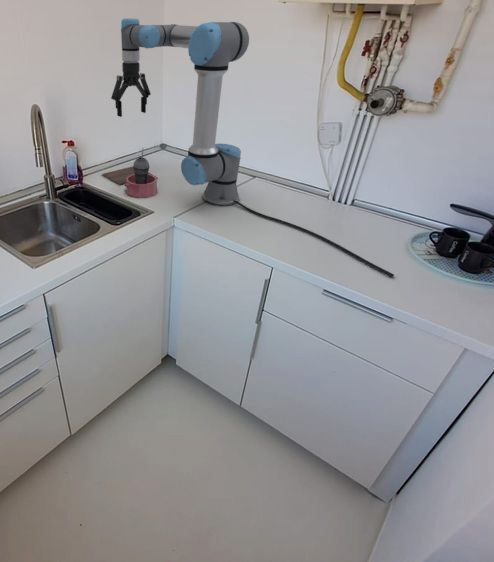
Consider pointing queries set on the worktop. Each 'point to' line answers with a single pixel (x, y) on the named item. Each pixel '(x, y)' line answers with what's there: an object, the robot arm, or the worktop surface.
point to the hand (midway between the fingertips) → (131, 114)
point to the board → (120, 175)
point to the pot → (141, 187)
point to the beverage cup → (141, 170)
